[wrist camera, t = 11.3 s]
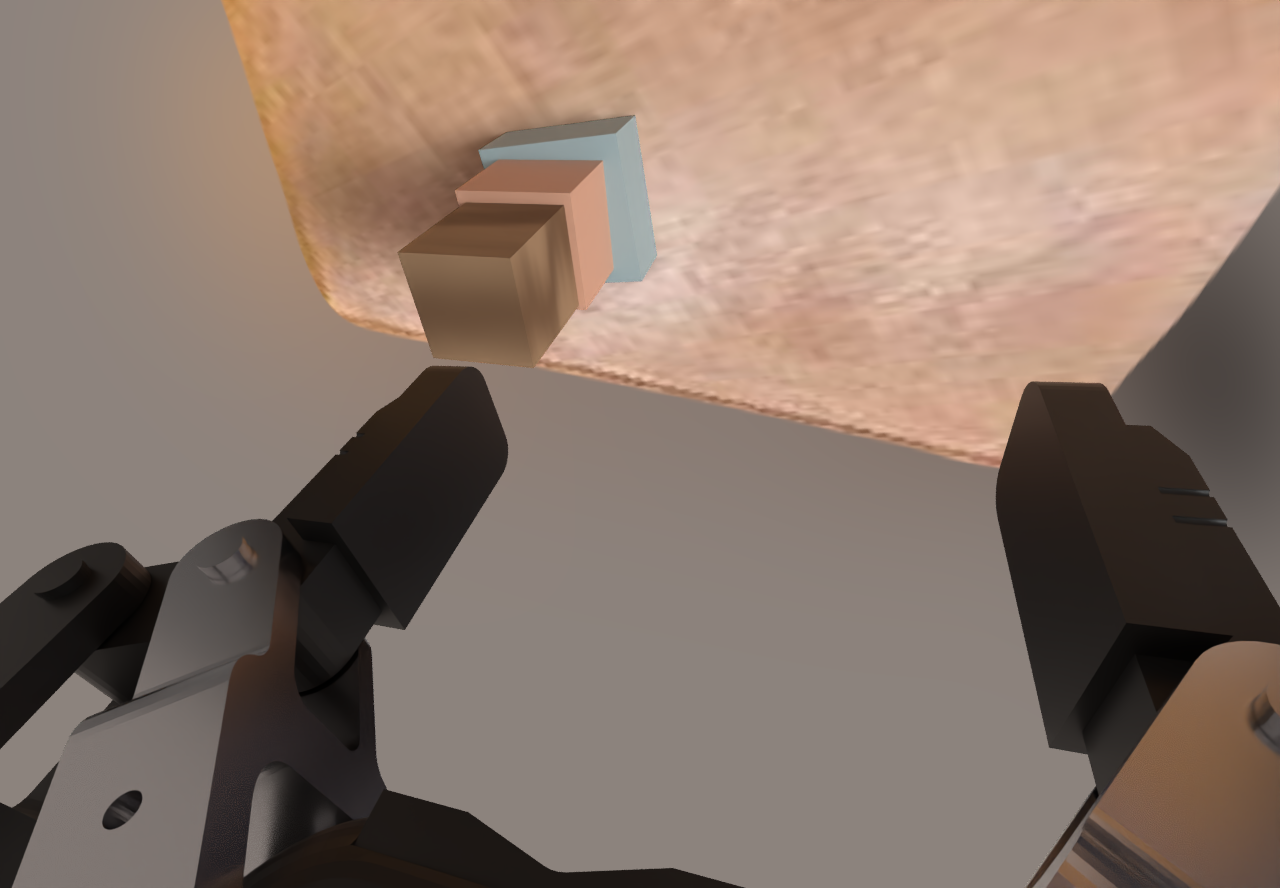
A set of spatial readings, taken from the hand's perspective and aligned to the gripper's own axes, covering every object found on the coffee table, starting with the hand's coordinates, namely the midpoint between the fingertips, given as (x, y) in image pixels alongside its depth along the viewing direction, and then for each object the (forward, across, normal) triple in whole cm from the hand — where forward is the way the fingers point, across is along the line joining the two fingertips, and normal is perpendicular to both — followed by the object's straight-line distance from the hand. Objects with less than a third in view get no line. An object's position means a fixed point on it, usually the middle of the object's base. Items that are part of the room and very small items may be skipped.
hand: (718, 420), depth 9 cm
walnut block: (+20, +14, +5) cm, 24 cm away
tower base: (+28, +13, +5) cm, 32 cm away
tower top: (+24, +14, +5) cm, 29 cm away
